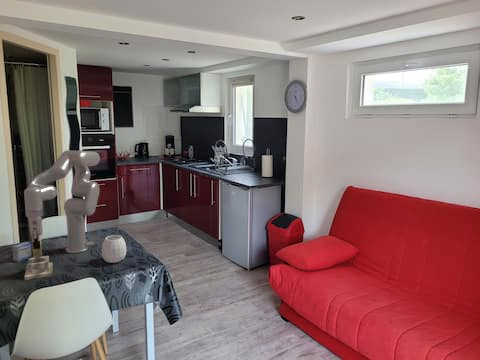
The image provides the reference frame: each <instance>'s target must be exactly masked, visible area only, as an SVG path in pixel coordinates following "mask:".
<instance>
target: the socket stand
mask: <svg viewBox="0 0 480 360" xmlns="http://www.w3.org/2000/svg"><path fill="white" fill-rule="evenodd" d="M53 264H54V263H53V262H52V261H51V262H50V257H49V255H44V256H43V255H42V257H40V258H33V257H30V258H28V260H27V265H26V269H25V273H24V280H25V281H28V280H35V279H42V278H46V277H52V276H53V268H54V267H53V266H54V265H53Z"/></svg>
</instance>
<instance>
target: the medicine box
mask: <svg viewBox="0 0 480 360" xmlns="http://www.w3.org/2000/svg"><path fill="white" fill-rule="evenodd" d="M11 248H12V249H11V250H12V256H13V257H12V258H13V261H14V262H18V263H20V262H22V261H25V260H27V259H28V260H29V258H33V253H32V242H29V241H23V242H21V243H18V244H15V245H12V246H11Z"/></svg>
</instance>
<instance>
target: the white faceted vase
mask: <svg viewBox="0 0 480 360" xmlns="http://www.w3.org/2000/svg"><path fill="white" fill-rule="evenodd" d="M126 255H127V244H126V241H125V239H124V238H123V236H122V235H119V234H112V235H108V236H106V237H105V238H104V240H103V243H102V245H101V257H102V259H103V260H104V262H106V263H109V264H112V263H114V264H115V263H120V262H121V260H122V261H123V260H124V259H125V258H126Z"/></svg>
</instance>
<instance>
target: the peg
mask: <svg viewBox="0 0 480 360" xmlns="http://www.w3.org/2000/svg"><path fill="white" fill-rule="evenodd" d="M37 235H38V234H37ZM30 236H31V235H30ZM41 236H42V235H39V241H40V249H33V236H31V251H32V258H40V257H43V252H42V251H43V250H42V239H41V238H42V237H41Z"/></svg>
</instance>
